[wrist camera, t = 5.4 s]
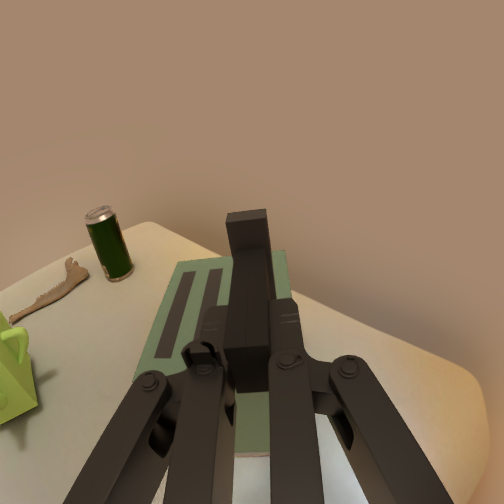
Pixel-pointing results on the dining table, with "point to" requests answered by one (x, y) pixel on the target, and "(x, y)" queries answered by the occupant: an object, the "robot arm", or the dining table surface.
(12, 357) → the teapot
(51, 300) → the jawbone
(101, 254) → the green soda can
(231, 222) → the slider
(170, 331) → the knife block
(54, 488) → the dining table surface
